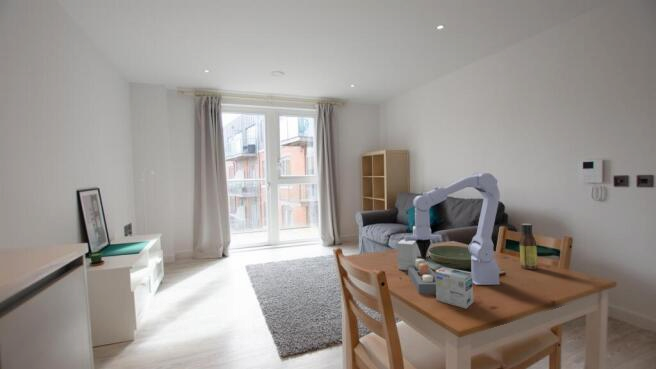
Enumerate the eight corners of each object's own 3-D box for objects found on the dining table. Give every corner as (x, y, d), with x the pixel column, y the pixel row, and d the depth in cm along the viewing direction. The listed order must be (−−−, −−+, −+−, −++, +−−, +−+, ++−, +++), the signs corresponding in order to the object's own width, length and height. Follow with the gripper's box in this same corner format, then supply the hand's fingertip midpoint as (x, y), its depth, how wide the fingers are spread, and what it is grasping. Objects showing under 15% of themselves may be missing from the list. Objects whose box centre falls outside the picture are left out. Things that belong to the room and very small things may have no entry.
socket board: (428, 273, 130) (428, 265, 130) (443, 293, 109) (443, 283, 109) (407, 273, 131) (407, 265, 131) (418, 293, 110) (418, 284, 110)
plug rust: (427, 273, 122) (427, 263, 122) (429, 277, 118) (429, 266, 118) (418, 274, 122) (417, 263, 122) (420, 277, 118) (419, 266, 118)
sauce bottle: (539, 268, 131) (539, 224, 130) (533, 271, 127) (533, 226, 126) (523, 264, 136) (523, 222, 135) (517, 267, 133) (516, 224, 132)
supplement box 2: (430, 252, 162) (429, 225, 161) (432, 257, 153) (431, 229, 153) (413, 252, 164) (412, 225, 164) (414, 256, 156) (413, 228, 155)
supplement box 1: (417, 266, 140) (417, 240, 139) (413, 271, 134) (412, 244, 133) (402, 264, 144) (401, 239, 143) (397, 269, 138) (396, 242, 137)
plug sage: (423, 269, 128) (423, 258, 128) (426, 272, 124) (425, 261, 124) (414, 269, 128) (414, 258, 128) (416, 272, 124) (416, 261, 124)
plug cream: (431, 285, 116) (431, 274, 116) (434, 289, 112) (433, 277, 112) (421, 285, 116) (421, 274, 116) (424, 289, 112) (423, 278, 112)
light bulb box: (474, 302, 101) (473, 272, 101) (466, 309, 96) (465, 277, 96) (443, 294, 109) (442, 265, 108) (435, 300, 104) (434, 270, 104)
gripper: (406, 227, 116) (407, 261, 116) (443, 226, 114) (444, 260, 115) (402, 224, 123) (404, 256, 123) (438, 223, 122) (439, 255, 122)
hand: (423, 257), depth 120 cm, fingers closed
